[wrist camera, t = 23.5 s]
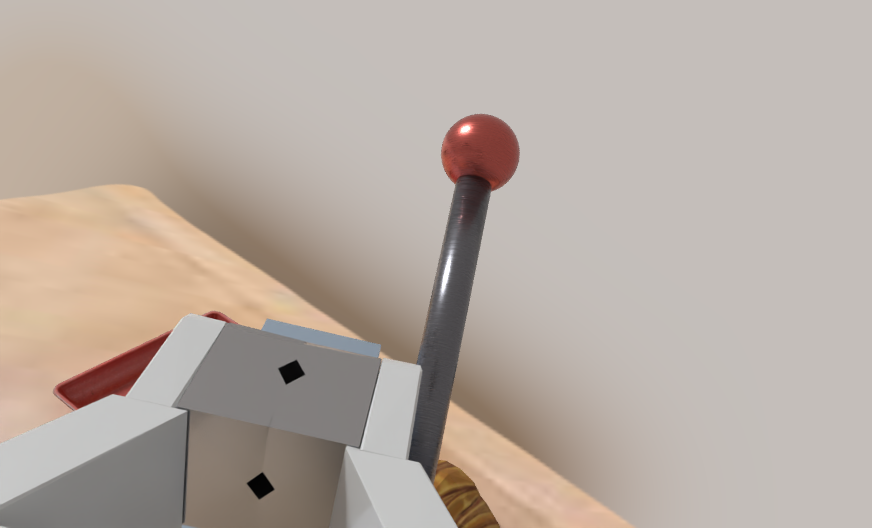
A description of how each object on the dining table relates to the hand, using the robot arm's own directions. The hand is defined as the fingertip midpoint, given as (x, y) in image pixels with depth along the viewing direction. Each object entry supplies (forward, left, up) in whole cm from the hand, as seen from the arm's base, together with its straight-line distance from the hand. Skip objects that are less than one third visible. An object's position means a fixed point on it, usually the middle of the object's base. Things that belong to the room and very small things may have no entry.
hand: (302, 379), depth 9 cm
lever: (-8, +8, -19) cm, 22 cm away
